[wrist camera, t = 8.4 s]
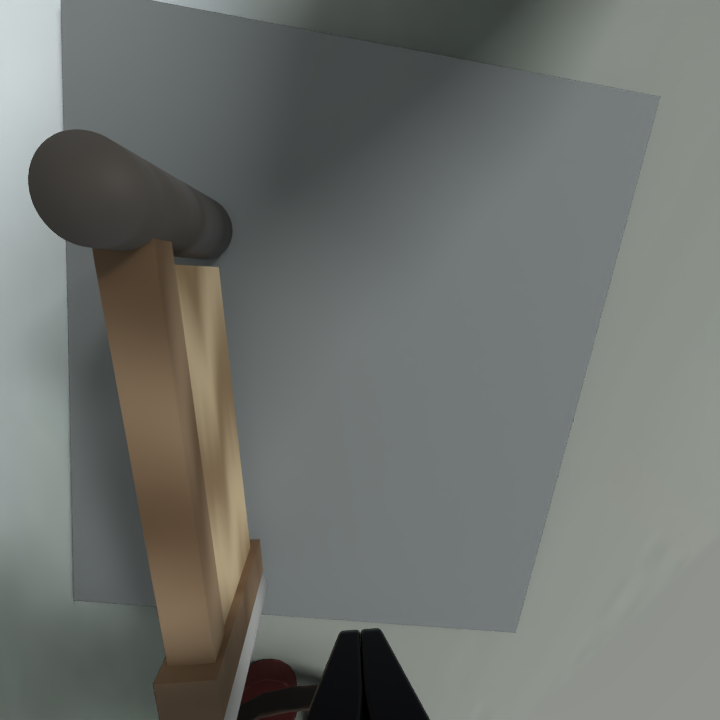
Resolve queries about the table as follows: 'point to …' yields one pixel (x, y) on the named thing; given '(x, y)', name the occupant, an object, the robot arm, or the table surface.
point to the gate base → (359, 302)
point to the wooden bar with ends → (167, 398)
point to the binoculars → (273, 693)
